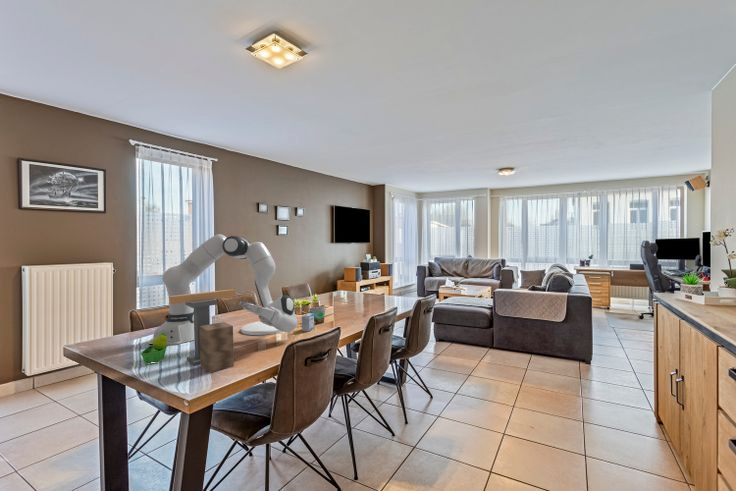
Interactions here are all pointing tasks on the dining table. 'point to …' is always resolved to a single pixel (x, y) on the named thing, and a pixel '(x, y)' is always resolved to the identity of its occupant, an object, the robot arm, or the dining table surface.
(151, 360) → the fruit basket
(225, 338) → the pedestal
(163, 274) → the robot arm
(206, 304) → the stand
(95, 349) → the dining table surface
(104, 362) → the dining table surface
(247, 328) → the decorative plate
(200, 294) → the bar
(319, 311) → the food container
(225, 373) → the dining table surface
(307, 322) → the medicine box
